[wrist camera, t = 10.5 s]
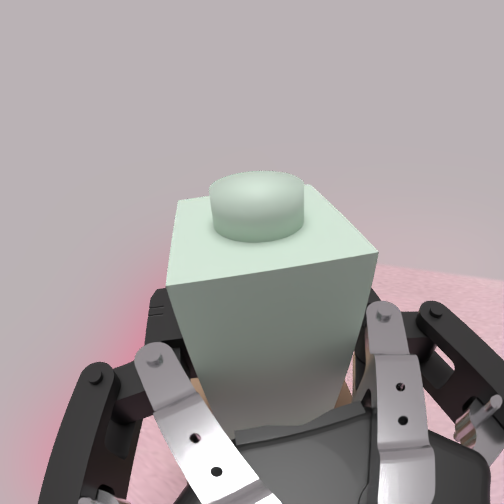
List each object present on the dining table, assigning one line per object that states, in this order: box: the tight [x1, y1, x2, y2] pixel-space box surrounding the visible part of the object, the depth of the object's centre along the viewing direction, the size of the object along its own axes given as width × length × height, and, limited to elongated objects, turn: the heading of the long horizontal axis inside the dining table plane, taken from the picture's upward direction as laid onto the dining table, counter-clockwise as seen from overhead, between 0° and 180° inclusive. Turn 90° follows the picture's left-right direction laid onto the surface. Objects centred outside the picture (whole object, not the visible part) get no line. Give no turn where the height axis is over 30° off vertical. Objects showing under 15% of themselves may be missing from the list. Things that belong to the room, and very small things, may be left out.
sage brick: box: [166, 171, 379, 440], centre depth 11 cm, size 5×5×13 cm
